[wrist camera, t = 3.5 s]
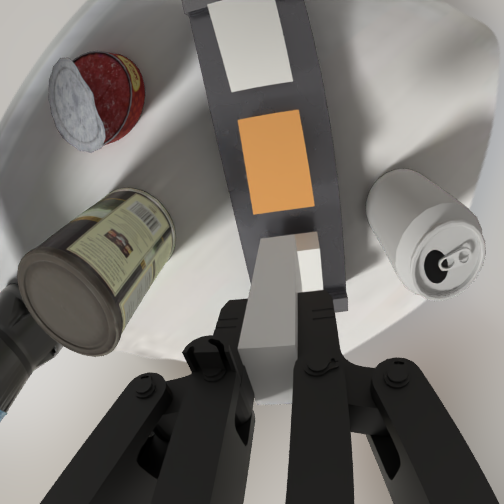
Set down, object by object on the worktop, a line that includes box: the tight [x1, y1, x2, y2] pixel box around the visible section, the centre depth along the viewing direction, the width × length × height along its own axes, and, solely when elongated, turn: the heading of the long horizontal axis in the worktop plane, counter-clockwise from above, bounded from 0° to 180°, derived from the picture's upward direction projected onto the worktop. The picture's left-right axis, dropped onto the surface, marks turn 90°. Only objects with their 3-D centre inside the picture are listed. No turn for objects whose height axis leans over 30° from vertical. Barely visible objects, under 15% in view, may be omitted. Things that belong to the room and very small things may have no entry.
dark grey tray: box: [182, 0, 348, 312], centre depth 25 cm, size 30×9×5 cm, turn 12°
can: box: [366, 169, 486, 301], centre depth 22 cm, size 8×8×12 cm
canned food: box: [49, 51, 145, 153], centre depth 23 cm, size 11×10×10 cm
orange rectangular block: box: [238, 110, 315, 215], centre depth 22 cm, size 7×4×2 cm, turn 12°
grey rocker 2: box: [207, 0, 293, 92], centre depth 18 cm, size 7×4×2 cm, turn 11°
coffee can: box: [17, 188, 175, 357], centre depth 26 cm, size 10×10×14 cm
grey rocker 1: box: [295, 232, 323, 292], centre depth 26 cm, size 7×4×2 cm, turn 11°
